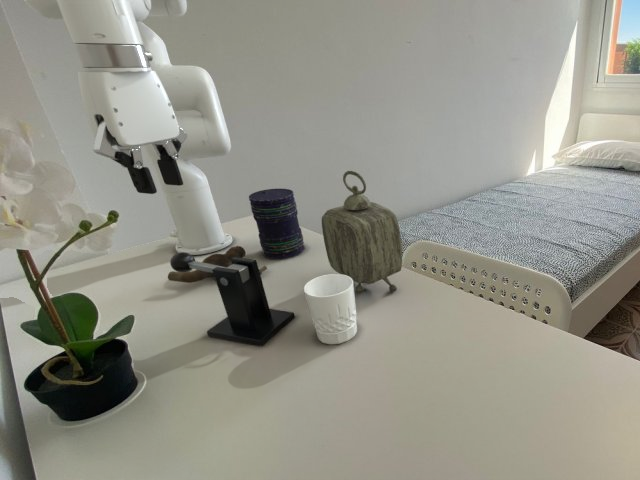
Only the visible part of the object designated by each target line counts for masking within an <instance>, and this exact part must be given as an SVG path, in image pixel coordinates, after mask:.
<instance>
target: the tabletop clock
mask: <svg viewBox="0 0 640 480" xmlns="http://www.w3.org/2000/svg"><path fill="white" fill-rule="evenodd" d="M348 175H351V176H355V177H356V178H358V179H359V180H360V182H361V184H362V186H363V189H362V190H359V187H358V186H357V185H352V187H351V186H350V185H349V184H348V183H347V179H346V178H347V176H348ZM342 182H343V184H344V186H345V188H346V189H347V190H348V191H349V192H351V193H352V194H350V195H348V196H347V197H346V198H345V200H344V201H343V205H340V206H337V207H333V208H330V209H327V210H326V211H325V213H324V214H323V215H322V216H321V229H322V236H323V242H324V246H325V247H324V248H325V252H326V256H327V259H328V263H329V265H330V267H331V268H332V269H333V271H334V272H336V274H343V275H347V276H349V277H351V278H352V280H353V283H357V285H356V286H355V287H354V290H355V292H357V293H362V292H363V291H364V286H363V285H362V284H364V285H373V284H375V283H377V282H379V281H381V280H383V281H384V282H385V283H386V284H387V285H388V286H389V287H388V289H389V291H390V292H396V291H397V290H398V286H397V285H396V284H395V283H391V281H390V280H389V278H388V277H390V276H392V275H395V274H397V273H400V272H401V271H402V268H403V244H402V243H403V242H402V237H401V231H400V230H401V229H400V226H399V222H398V218H397V216H396V213H394V212H393V211H392V210H391V209H389V208H387V207H385V206H383V205H381V204H378V203H376V202H373V201H370V199H369V198H368V197H367V196H366V195H364V194H365V193H366V191H367V184H366V181H365V179H364V177H363V176H362V175H361V174H359V172H356V171H353V170H347V171H345V172H344V174H343V175H342Z"/></svg>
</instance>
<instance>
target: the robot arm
mask: <svg viewBox="0 0 640 480" xmlns="http://www.w3.org/2000/svg"><path fill="white" fill-rule="evenodd" d="M23 2H24V3H25V4H26V5H27V6H28V7H29V8H30V9H31V10H33V12H35V13H37V14H38V15H40V16H42V17H45V18H48V19H51V20H52V19H54V20H63V21H64V24H65V26H66V28H67V29H66V30H67V31H68V34H69V36H70V38H71V41H72V44H73V46H74V49H75V52H76V55H77V57H78V59H79V62H80V64H81V67H82V69H83V71H77V78H78V88H79V91H80V96H81V100H82V104H83V108H84V111H85V114H86V118H87V120H88V124H89V126H90V129H91V131H92V134H93V136H94V139H95V140H94V144H93V148H92V149H93V152H94V153H95V154H97V155H100V156H102V157H105V158H109V159H111V160H112V161H114V162H116V163H118V164H119V165H120V166H121V167H122V168H125V169H127V172H128V174H129V176H130V179H131V182H132V184H133V187H134V188H135V189H136V192H137V193H139V194H147V195H154V194H157V193H158V190H157V187H156V183H155V180H154V179H153V176H152V173H151V170H150V168H149V167H148V166H144V161H143V156H142V150H141V147H142V148H143V150H144V152H145V154H146V155H147V157H148V159H149V161H150V163H151V165H152V167H153V169H154V171H155V175H156V177H157V180H158V182H159V184H160V186H161V190H162V193H163V195H164V198H165V202H166V205H167V207H168V209H169V213H170V215H171V218H172V221H173V223H174V224H173V225H174V226H175V227H174V228H173V231H170V233H169V236H170V237H171V238H177V241H178V242H177V243H176V244H175V246H174V247H175V251H176V253H180V252H185V253H189V254H191V255H192V256H200V255H206V254H211V253H214V252H219V251H221V250H223V249H225V248H227V247H229V246H230V245H231V244H232V243H233V237H232V235H231V234H229V233H226V232H224V230H223V227H222V223H221V220H220V217H219V213H218V210H217V206H216V203H215V200H214V197H213V194H212V190H211V187H210V182H209V181H208V177H207V176H206V174H205V173H204V171H203V170H201V169H200V168H199V167H198V166H196V165H195V164H194V163H192V162H190V160H195V159H205V158H216V157H218V158H219V157H223V156H226V155H228V154H229V153H230V152H231V150H232V141H231V138H230V133H229V130H228V125H227V122H226V119H225V115H224V112H223V109H222V105H221V102H220V98H219V95H218V91H217V87H216V85H215V82H214V80H213V78H212V77H211V75H210V73H209V72H208V70H206V69H205V68H203V67H201V66H197V65H186V64H185V65H183V64H182V65H175V64H174V65H173V64H172V63H171V60H170V56H169V53H168V50H167V45H166V43H165V42H164V41H163V39H162V38H161V37H160V36H159V35H158V34H157V33H156V32H155V31H154V30H152V28H150V27H149V26H148V25H147V24H145V23H144V22H142V21H144V20H146V19H147V17H156V18H157V17H161V18H179V17H184V15H185V14H186V13H187V10H188V2H187V0H23ZM184 111H197V112H198V113H200V114H201V115H185V116H184V115H183V116H181V115H179V116H178V115H177V116H176V113H175V112H184ZM113 147H116V148H117V149H115V148H113Z"/></svg>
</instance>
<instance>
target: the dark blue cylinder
mask: <svg viewBox="0 0 640 480" xmlns="http://www.w3.org/2000/svg"><path fill="white" fill-rule="evenodd" d="M294 194H295V193H294V191H293V190H292V189H290V188H269V189H262V190H258V191H255V192H252V193H251V194H249V195H248V200H249V204H250V209H251V213H252V217H253V219H254V221H255V222H256V227H257V230H258V239H259V244H260V247H261V250H262V252H263V253H262V254H263V256H264V257H263V258H265V259H268V260H275V261H276V260H277V261H279V260H288V259H291V258H294V257H297V256H299V255H301V254H303V253H304V252H305V250H306V248H305V247H306V246H305V244H304V243H305V242H304V235H303V232H302V228H301V227H300V224H299V218H298V214H299V213H298V209H297V206H298V205H297V202H296V199H295V197H294V196H295V195H294Z"/></svg>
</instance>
